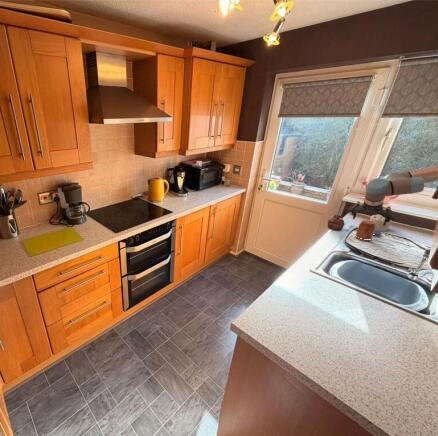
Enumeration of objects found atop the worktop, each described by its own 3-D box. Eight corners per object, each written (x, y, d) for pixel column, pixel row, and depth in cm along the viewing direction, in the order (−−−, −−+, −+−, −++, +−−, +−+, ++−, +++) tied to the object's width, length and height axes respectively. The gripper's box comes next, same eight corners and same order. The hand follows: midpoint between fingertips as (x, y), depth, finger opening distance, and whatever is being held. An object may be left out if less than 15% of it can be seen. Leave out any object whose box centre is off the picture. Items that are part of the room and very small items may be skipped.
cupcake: (344, 232, 158) (349, 218, 154) (327, 230, 162) (331, 216, 158) (340, 227, 166) (345, 214, 162) (324, 225, 170) (328, 212, 166)
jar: (374, 240, 146) (380, 223, 142) (365, 242, 144) (371, 225, 140) (360, 235, 154) (366, 219, 149) (351, 236, 152) (357, 220, 147)
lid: (367, 230, 160) (368, 228, 159) (382, 235, 153) (383, 232, 153) (361, 232, 157) (362, 230, 156) (376, 237, 150) (377, 235, 149)
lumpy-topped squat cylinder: (387, 227, 165) (392, 215, 162) (387, 233, 156) (392, 221, 153) (368, 223, 171) (372, 212, 168) (367, 228, 163) (371, 217, 159)
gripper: (342, 201, 132) (340, 219, 146) (404, 212, 114) (396, 232, 128) (347, 190, 133) (345, 210, 147) (410, 200, 115) (401, 221, 129)
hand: (369, 220), depth 138 cm, fingers open, 13 cm apart
